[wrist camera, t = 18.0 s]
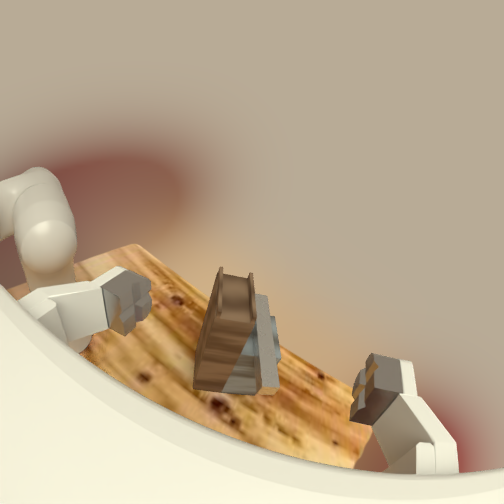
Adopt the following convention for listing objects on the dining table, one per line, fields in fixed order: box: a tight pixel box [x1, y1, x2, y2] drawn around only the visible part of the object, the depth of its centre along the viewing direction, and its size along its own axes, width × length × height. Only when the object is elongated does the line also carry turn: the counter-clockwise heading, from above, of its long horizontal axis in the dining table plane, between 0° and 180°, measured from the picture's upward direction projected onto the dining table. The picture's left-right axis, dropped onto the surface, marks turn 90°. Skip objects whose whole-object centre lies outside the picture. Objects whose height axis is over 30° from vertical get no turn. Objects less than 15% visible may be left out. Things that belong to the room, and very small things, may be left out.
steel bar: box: [252, 294, 280, 395], centre depth 51 cm, size 22×3×3 cm, turn 3°
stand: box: [193, 267, 281, 396], centre depth 55 cm, size 11×14×28 cm
